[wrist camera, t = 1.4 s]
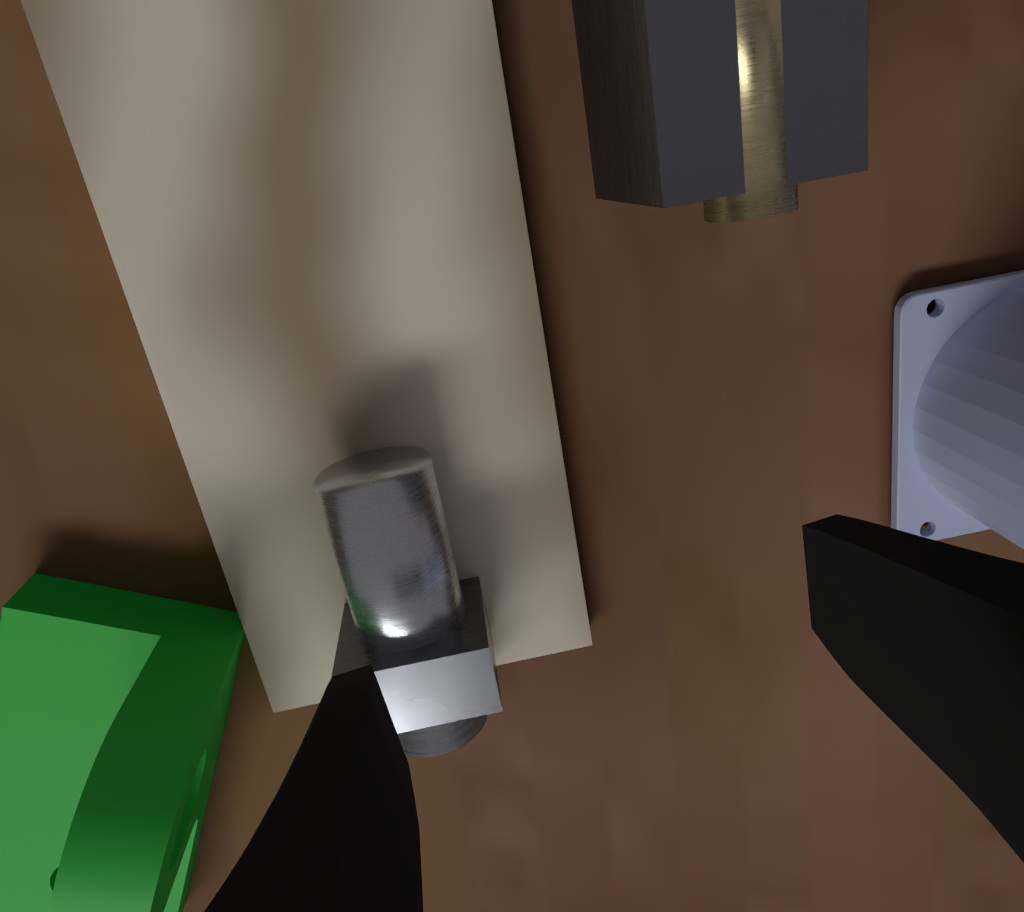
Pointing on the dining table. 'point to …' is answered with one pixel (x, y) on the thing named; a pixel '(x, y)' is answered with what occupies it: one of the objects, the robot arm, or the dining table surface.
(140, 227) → the board
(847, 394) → the dining table surface
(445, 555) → the metal cylinder fitting
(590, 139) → the grey slotted block
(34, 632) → the mechanical part
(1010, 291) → the robot arm
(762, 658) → the dining table surface
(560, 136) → the dining table surface
